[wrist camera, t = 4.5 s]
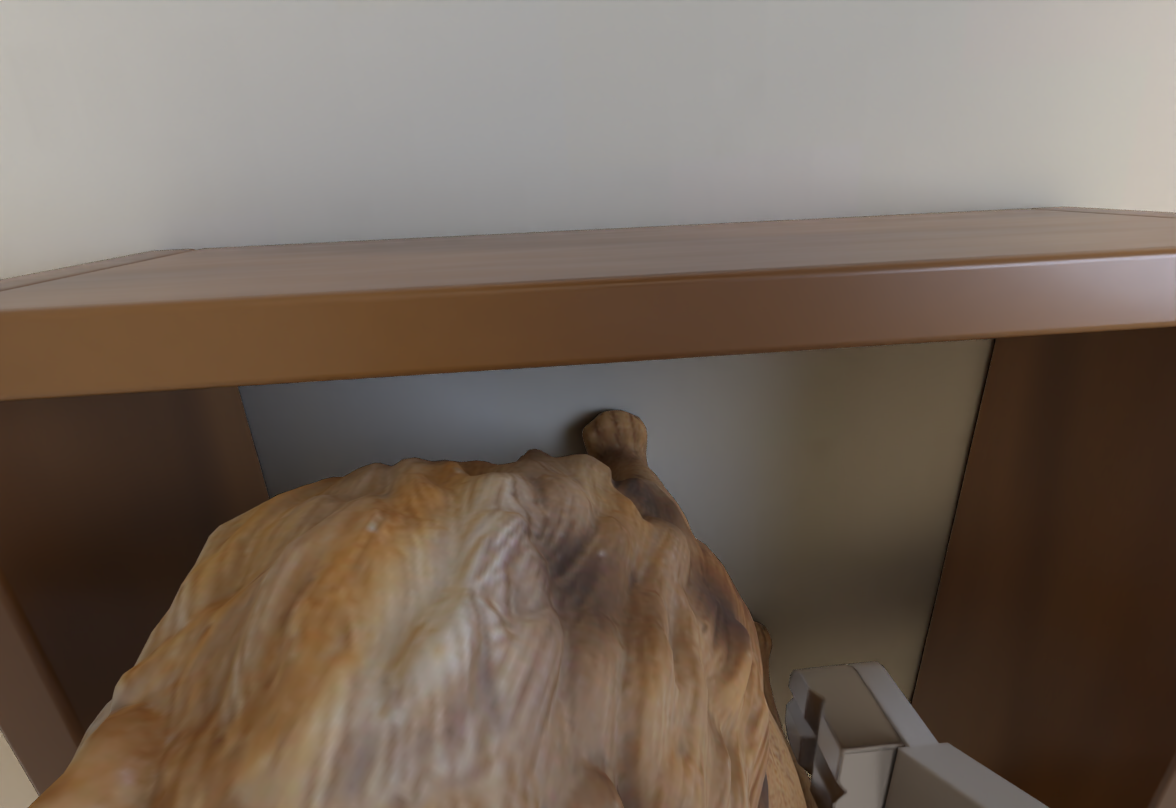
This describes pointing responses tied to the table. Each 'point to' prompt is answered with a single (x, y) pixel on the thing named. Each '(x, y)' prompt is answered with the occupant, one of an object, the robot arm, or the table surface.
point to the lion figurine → (451, 652)
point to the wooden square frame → (622, 334)
